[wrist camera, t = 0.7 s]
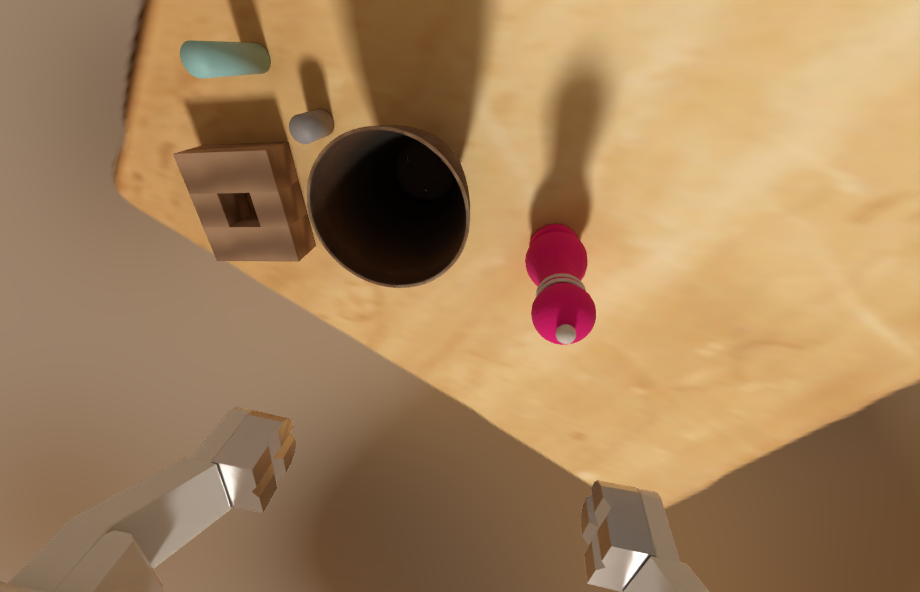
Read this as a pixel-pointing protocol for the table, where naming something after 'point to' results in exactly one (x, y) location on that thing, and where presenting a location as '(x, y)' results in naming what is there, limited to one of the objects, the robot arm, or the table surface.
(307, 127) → the charcoal dowel
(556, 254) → the pepper mill
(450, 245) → the plant pot
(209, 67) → the teal dowel
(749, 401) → the table surface
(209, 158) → the walnut block
